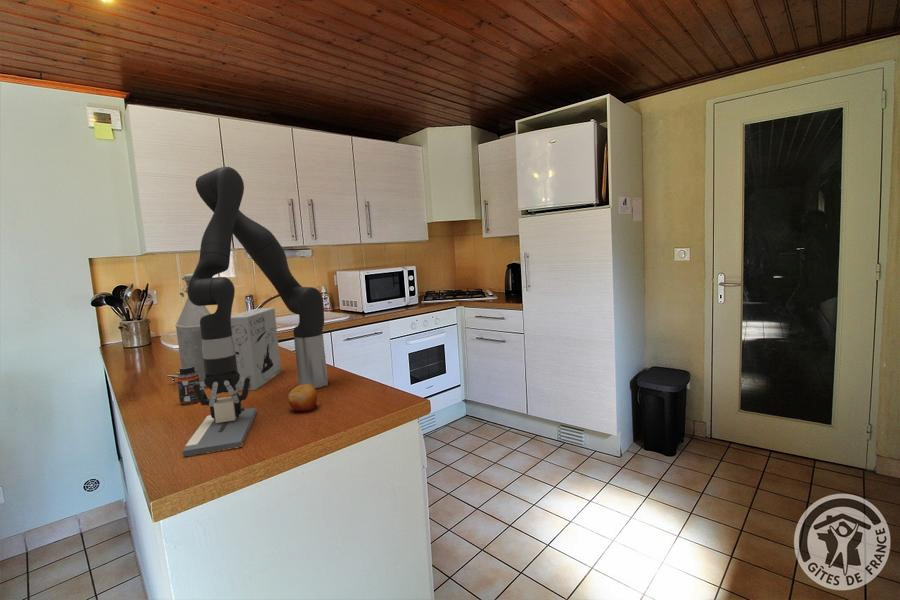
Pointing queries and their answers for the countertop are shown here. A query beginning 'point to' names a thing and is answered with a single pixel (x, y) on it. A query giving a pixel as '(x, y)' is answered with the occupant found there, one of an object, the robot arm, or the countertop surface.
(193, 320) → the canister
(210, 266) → the robot arm
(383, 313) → the countertop surface
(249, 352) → the cereal box
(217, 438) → the board
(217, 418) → the tab
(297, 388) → the fruit
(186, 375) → the supplement bottle
